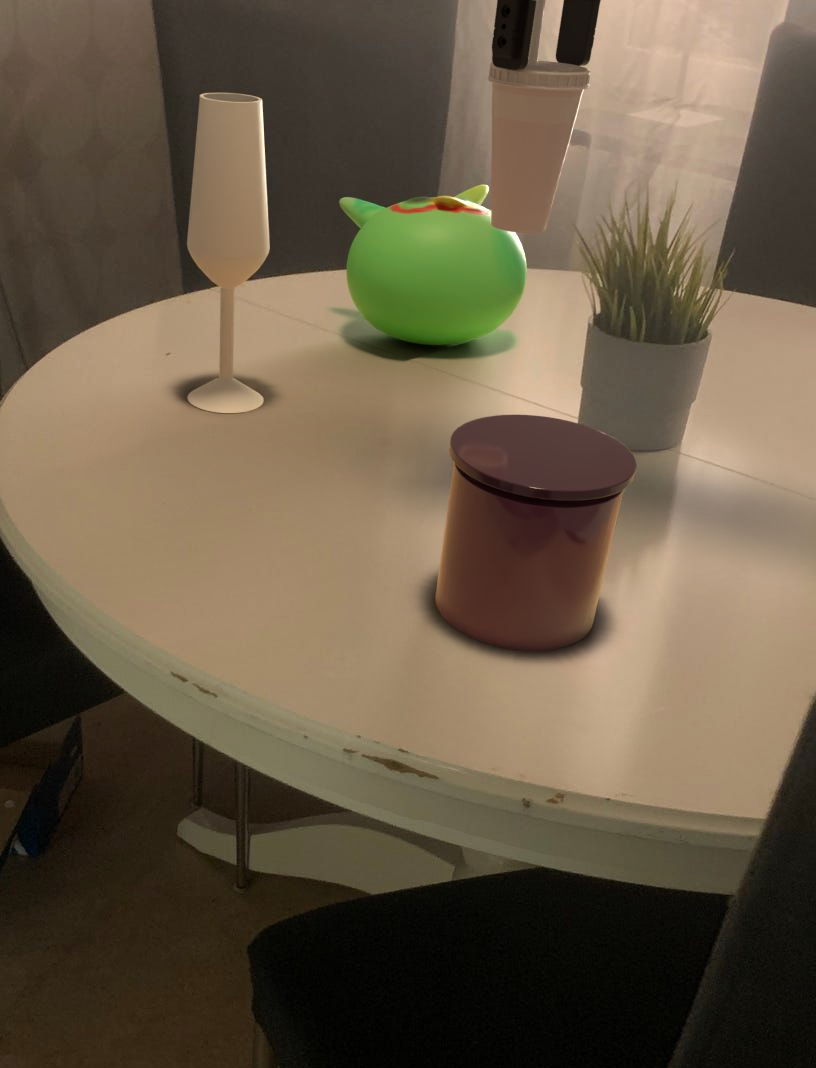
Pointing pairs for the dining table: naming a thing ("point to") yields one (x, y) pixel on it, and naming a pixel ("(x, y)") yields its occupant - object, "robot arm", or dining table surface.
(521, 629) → the jar
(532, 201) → the smoothie
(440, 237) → the green rounded blob
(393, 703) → the dining table surface
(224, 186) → the champagne flute
